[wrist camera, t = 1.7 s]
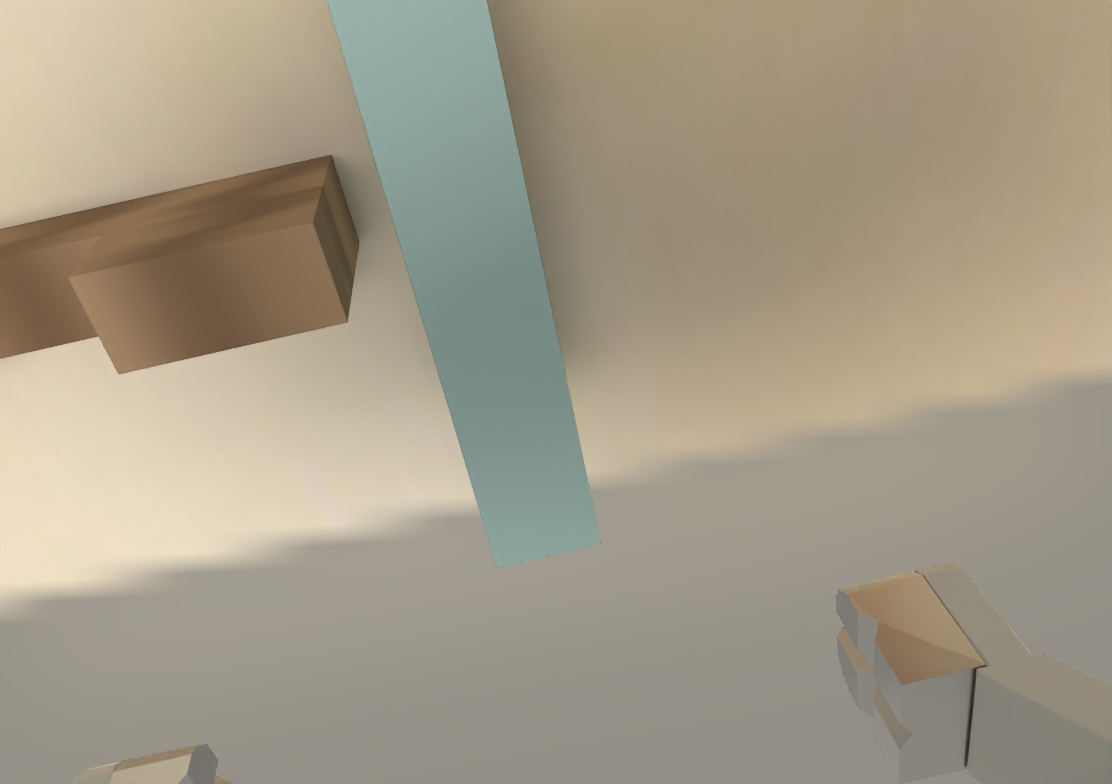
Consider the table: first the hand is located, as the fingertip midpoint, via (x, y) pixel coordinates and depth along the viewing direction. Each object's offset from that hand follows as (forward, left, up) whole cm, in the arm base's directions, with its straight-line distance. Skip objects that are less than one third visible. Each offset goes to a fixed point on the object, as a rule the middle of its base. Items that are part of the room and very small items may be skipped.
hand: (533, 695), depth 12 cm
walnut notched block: (+13, 0, -21) cm, 25 cm away
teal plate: (0, 0, -21) cm, 21 cm away
